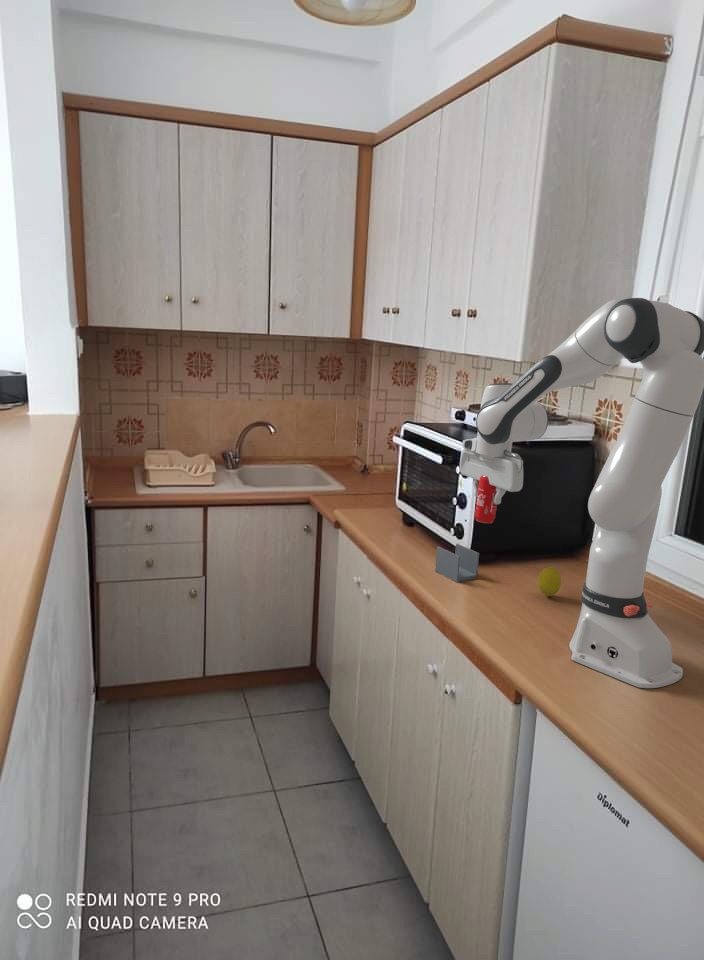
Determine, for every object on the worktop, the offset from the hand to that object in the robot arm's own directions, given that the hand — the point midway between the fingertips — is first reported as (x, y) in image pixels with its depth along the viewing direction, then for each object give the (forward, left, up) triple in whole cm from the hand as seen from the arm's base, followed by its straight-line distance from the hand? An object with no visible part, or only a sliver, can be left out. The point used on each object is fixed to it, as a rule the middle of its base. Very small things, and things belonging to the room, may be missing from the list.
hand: (487, 500), depth 183 cm
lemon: (-15, -9, -22) cm, 29 cm away
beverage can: (0, 0, -6) cm, 6 cm away
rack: (+7, +2, -22) cm, 23 cm away
